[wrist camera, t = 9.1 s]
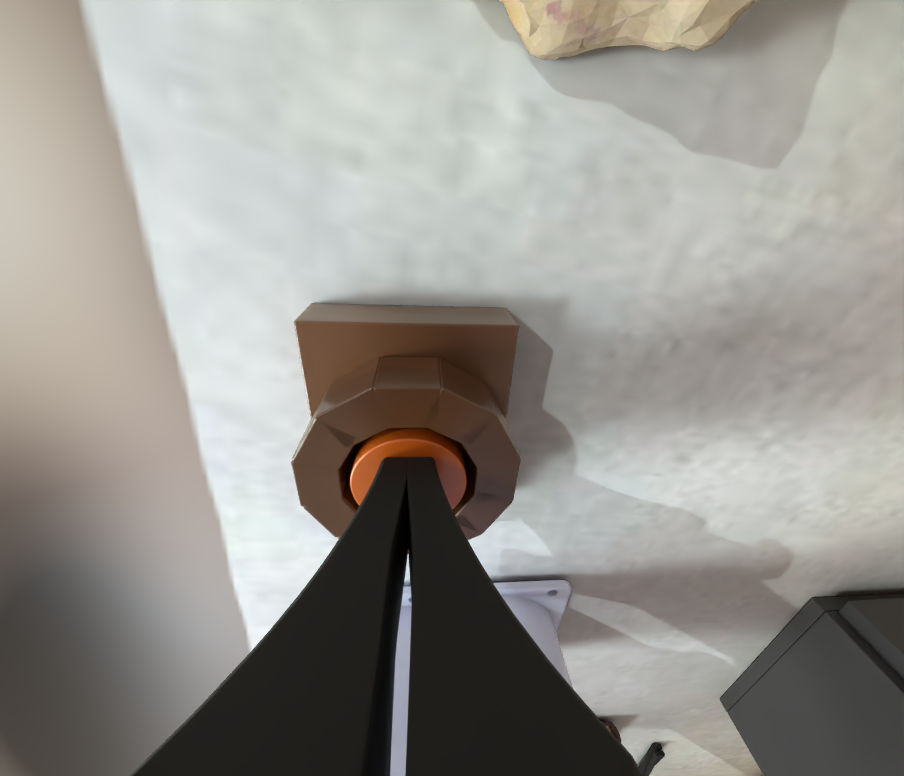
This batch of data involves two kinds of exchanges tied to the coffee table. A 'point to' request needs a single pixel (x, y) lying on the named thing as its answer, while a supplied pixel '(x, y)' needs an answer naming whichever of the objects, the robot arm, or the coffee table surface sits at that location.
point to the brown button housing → (406, 398)
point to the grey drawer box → (879, 627)
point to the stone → (619, 24)
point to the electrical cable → (651, 759)
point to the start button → (410, 445)
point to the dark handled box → (821, 700)
